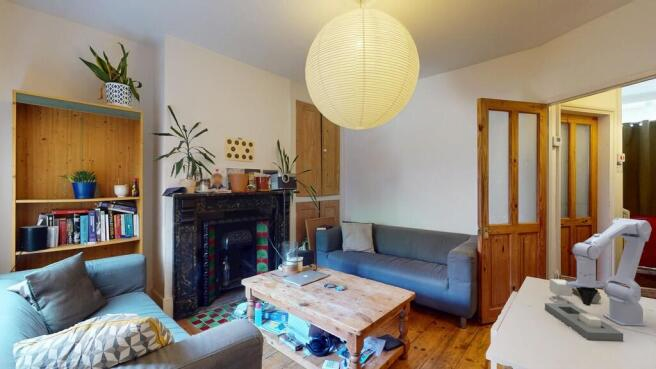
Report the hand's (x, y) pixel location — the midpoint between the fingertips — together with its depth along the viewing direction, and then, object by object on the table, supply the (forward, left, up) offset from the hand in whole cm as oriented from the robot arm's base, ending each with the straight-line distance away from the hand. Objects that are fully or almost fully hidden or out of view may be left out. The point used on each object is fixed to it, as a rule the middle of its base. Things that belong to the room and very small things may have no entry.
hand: (586, 304), depth 112 cm
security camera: (-6, -23, -9) cm, 26 cm away
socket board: (+1, -2, -9) cm, 9 cm away
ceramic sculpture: (-21, -27, -9) cm, 35 cm away
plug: (+1, +3, -9) cm, 9 cm away
